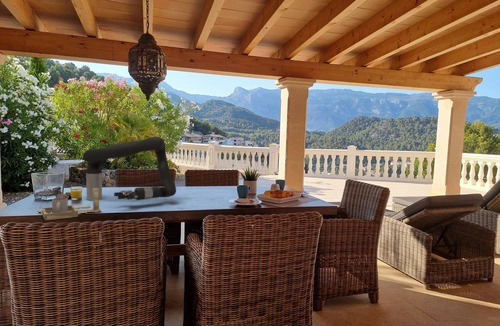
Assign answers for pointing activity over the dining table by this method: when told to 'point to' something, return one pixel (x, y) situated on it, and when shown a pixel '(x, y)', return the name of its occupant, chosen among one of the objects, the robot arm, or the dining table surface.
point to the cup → (59, 205)
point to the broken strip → (75, 207)
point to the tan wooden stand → (72, 209)
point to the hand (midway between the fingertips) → (116, 195)
